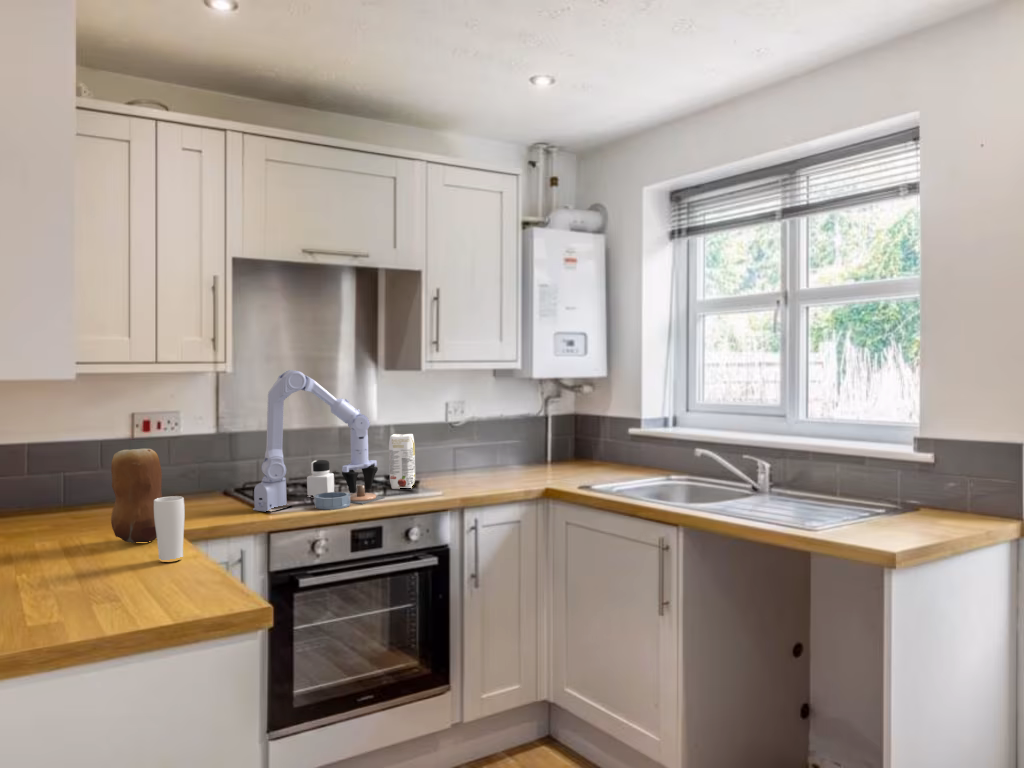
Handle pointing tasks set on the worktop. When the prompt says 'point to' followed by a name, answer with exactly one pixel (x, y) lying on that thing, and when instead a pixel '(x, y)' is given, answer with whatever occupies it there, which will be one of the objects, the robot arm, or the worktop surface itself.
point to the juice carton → (402, 461)
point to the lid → (362, 494)
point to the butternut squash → (135, 494)
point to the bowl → (332, 500)
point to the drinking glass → (169, 526)
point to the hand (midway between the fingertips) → (360, 490)
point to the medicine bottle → (320, 478)
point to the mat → (367, 501)
